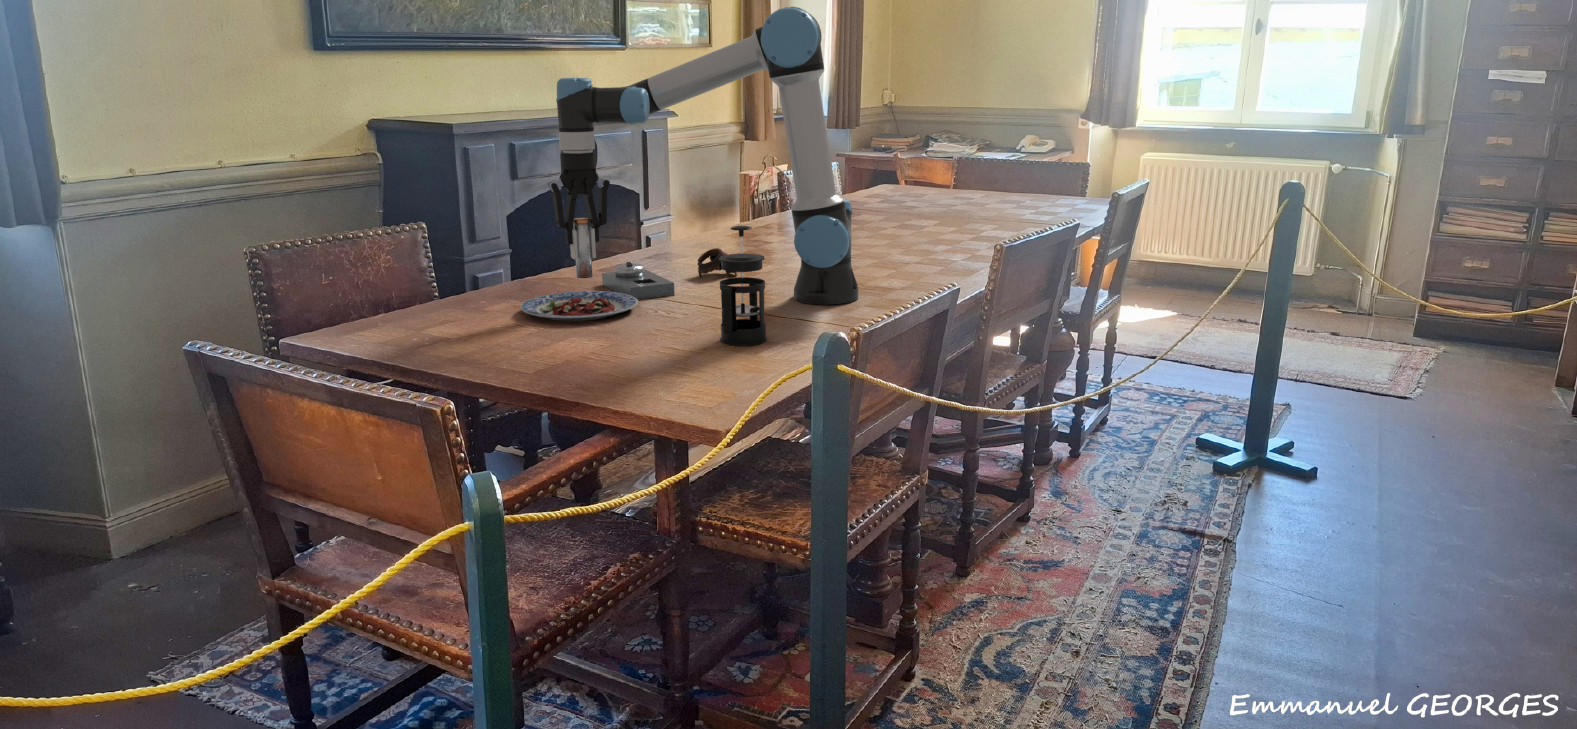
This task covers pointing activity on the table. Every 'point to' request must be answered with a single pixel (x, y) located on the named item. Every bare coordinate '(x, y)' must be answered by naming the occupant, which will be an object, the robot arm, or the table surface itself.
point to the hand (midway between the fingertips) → (583, 257)
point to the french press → (742, 329)
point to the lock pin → (583, 248)
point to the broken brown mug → (711, 262)
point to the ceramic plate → (579, 305)
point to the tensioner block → (637, 282)
